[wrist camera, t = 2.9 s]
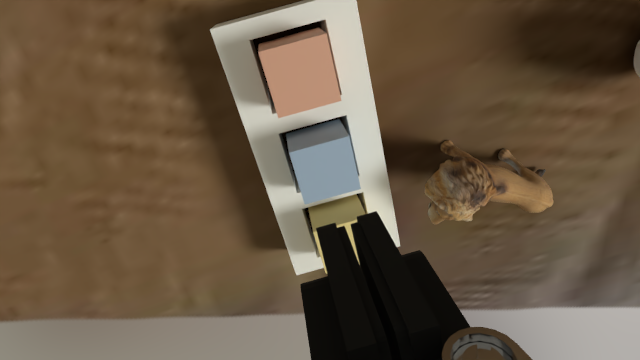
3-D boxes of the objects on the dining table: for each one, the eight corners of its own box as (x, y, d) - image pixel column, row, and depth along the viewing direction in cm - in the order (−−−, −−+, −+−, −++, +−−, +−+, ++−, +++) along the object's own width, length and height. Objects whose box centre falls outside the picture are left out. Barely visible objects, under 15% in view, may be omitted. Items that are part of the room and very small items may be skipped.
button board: (216, 24, 29) (209, 29, 26) (343, -11, 29) (354, -11, 26) (293, 249, 39) (296, 275, 36) (387, 222, 40) (400, 246, 36)
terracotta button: (258, 43, 28) (258, 52, 24) (318, 27, 28) (326, 33, 24) (276, 102, 30) (278, 118, 26) (332, 87, 30) (341, 100, 26)
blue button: (285, 133, 31) (288, 152, 27) (339, 118, 31) (349, 136, 27) (300, 181, 33) (304, 204, 29) (350, 167, 33) (360, 188, 29)
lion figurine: (397, 187, 38) (433, 240, 30) (407, 136, 36) (449, 179, 28) (532, 190, 40) (599, 240, 32) (550, 142, 38) (627, 183, 30)
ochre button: (307, 206, 34) (313, 232, 30) (356, 192, 34) (367, 216, 30) (319, 245, 36) (325, 273, 32) (365, 232, 36) (376, 259, 32)
